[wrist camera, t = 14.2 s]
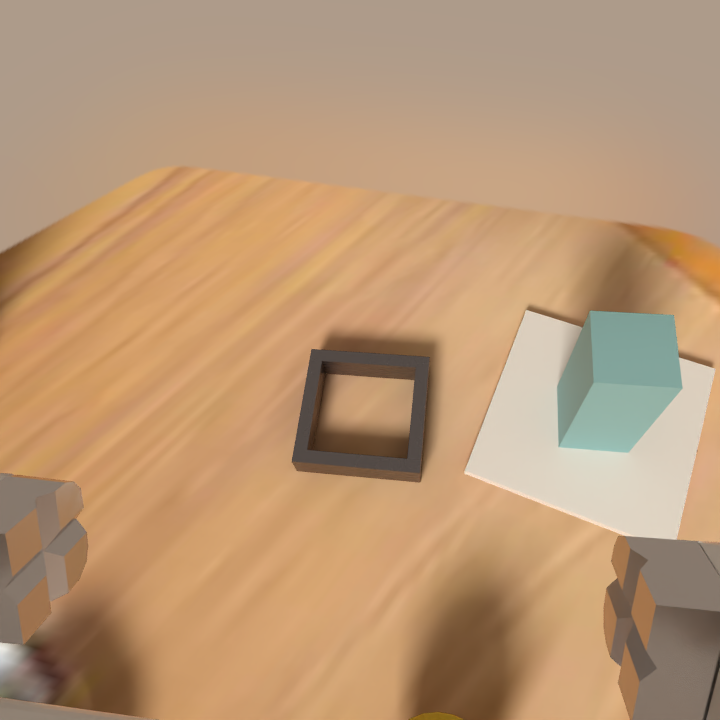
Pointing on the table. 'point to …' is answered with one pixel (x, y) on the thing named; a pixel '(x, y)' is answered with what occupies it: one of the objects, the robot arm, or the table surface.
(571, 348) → the white mat
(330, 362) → the metal cradle
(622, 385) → the teal block
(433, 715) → the lemon
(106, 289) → the table surface
